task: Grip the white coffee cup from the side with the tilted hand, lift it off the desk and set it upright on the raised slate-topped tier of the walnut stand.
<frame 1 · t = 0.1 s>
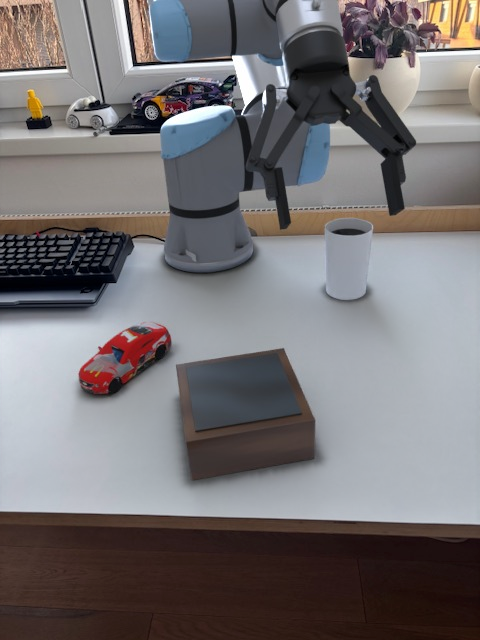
hand: (342, 219, 63), 15 cm above the table, tool tilted 35°, fingers open, 13 cm apart
stand: (242, 427, 57), on the table
race car: (128, 367, 67), on the table
white coffee cup: (345, 291, 80), on the table
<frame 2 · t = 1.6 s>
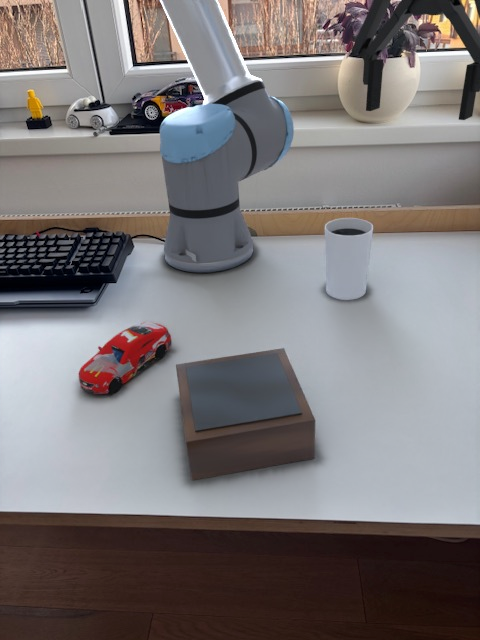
hand: (416, 113, 75), 23 cm above the table, tool pointing down, fingers open, 13 cm apart
nothing on the table moved.
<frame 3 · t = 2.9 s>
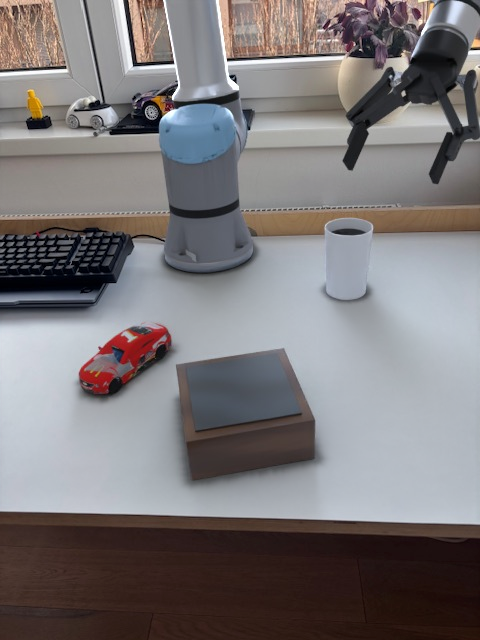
hand: (388, 172, 79), 15 cm above the table, tool tilted 45°, fingers open, 13 cm apart
nothing on the table moved.
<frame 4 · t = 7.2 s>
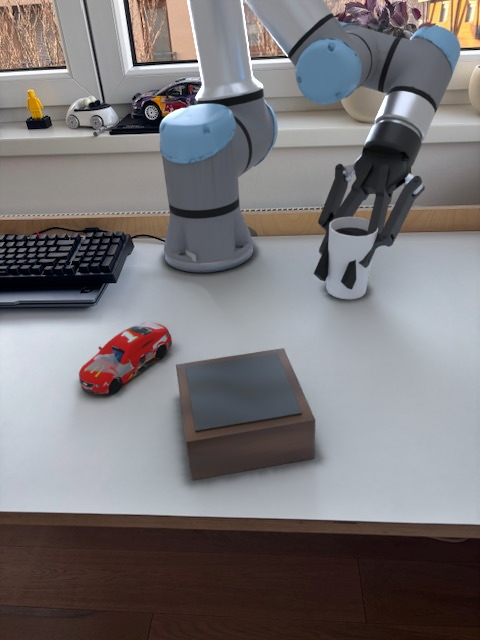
hand: (332, 281, 76), 3 cm above the table, tool tilted 45°, fingers closed on white coffee cup, 4 cm apart
white coffee cup: (345, 290, 80), on the table, touching gripper
everything else where it was.
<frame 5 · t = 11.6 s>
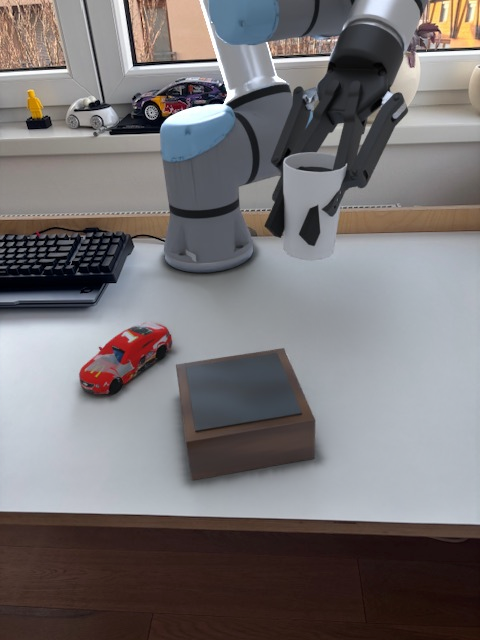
hand: (289, 235, 58), 16 cm above the table, tool tilted 45°, fingers closed on white coffee cup, 4 cm apart
white coffee cup: (308, 250, 62), point 13 cm above the table, touching gripper
everything else where it was.
when the fingers open (8 cm above the table, at t = 16.1 s): white coffee cup stays where it is, resting on stand.
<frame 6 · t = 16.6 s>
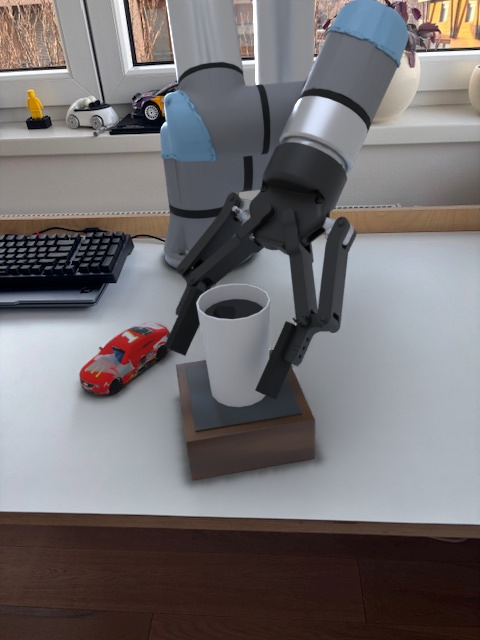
hand: (217, 371, 50), 9 cm above the table, tool tilted 45°, fingers open, 11 cm apart
white coffee cup: (239, 389, 54), point 5 cm above the table, touching stand
everything else where it was.
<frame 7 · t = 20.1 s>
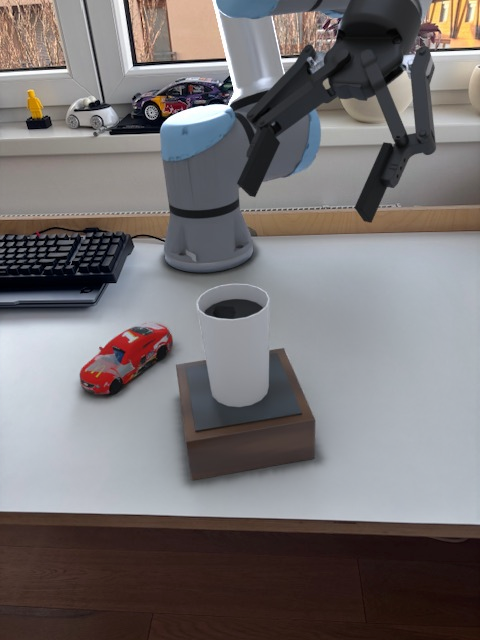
hand: (300, 202, 52), 21 cm above the table, tool tilted 45°, fingers open, 13 cm apart
nothing on the table moved.
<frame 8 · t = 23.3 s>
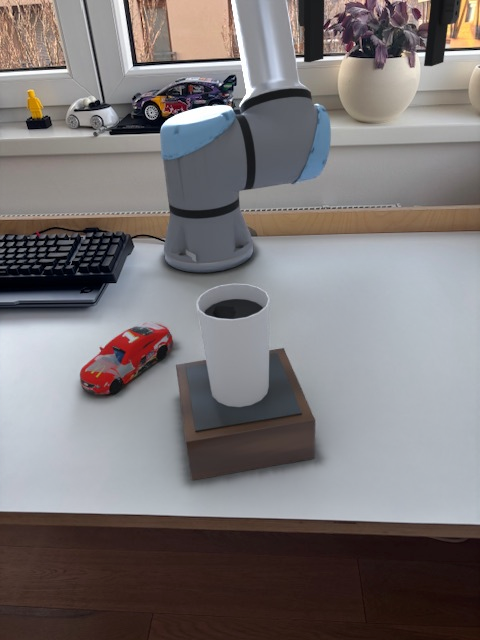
hand: (369, 62, 56), 32 cm above the table, tool pointing down, fingers open, 13 cm apart
nothing on the table moved.
at the end: white coffee cup inside the target area on the stand (0.0 cm from its centre), point 5.0 cm above the stand's base; white coffee cup tilted 0°; the gripper is holding nothing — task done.
